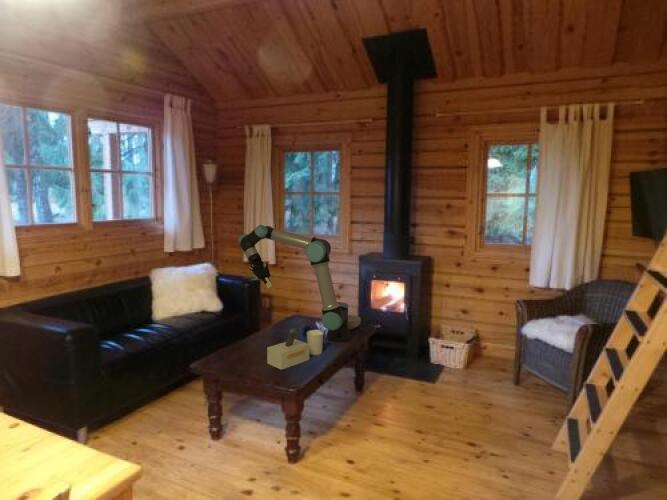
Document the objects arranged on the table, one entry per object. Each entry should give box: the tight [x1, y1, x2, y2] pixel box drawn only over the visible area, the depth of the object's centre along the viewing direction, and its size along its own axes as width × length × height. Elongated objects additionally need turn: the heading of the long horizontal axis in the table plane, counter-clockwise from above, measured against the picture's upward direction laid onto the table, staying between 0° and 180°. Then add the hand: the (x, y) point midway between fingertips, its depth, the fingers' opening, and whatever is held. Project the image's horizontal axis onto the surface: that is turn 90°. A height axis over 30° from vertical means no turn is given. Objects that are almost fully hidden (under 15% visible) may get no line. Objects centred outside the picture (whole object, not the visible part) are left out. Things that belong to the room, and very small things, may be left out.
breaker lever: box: [285, 327, 300, 347], centre depth 250 cm, size 5×2×11 cm, turn 135°
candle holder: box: [306, 329, 324, 356], centre depth 267 cm, size 10×10×12 cm
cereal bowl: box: [348, 314, 362, 331], centre depth 314 cm, size 17×17×7 cm
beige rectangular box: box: [266, 338, 310, 370], centre depth 253 cm, size 20×12×9 cm, turn 135°
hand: (270, 287), depth 272 cm, fingers closed
